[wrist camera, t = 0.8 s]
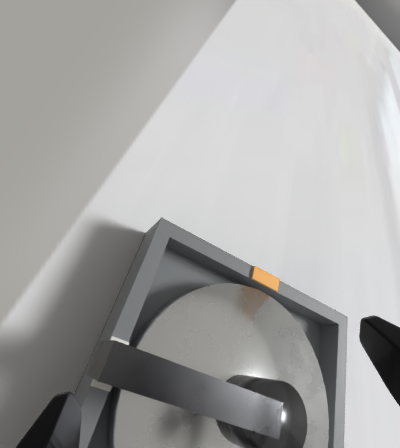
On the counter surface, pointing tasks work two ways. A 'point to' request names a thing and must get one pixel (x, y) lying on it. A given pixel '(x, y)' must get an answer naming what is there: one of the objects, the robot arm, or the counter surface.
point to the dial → (215, 376)
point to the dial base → (194, 279)
